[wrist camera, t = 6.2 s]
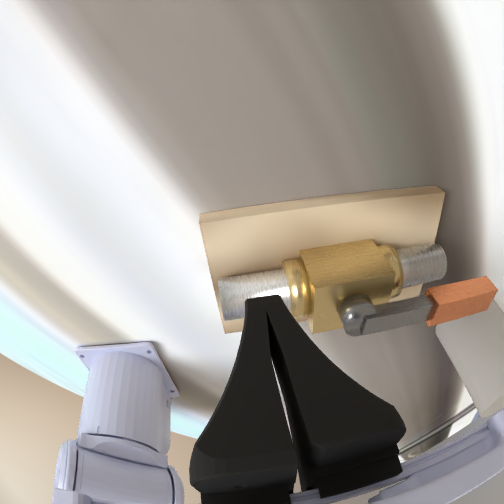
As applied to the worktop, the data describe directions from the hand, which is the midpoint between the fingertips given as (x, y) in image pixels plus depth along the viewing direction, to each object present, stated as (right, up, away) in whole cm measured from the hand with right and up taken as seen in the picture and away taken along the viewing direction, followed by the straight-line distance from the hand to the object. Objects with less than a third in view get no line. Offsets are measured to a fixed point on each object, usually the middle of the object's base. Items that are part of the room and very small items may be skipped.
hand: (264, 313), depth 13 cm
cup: (+24, -5, +18) cm, 31 cm away
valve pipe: (+5, +2, +10) cm, 12 cm away
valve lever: (+11, 0, +6) cm, 12 cm away
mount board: (+5, +2, +10) cm, 12 cm away
